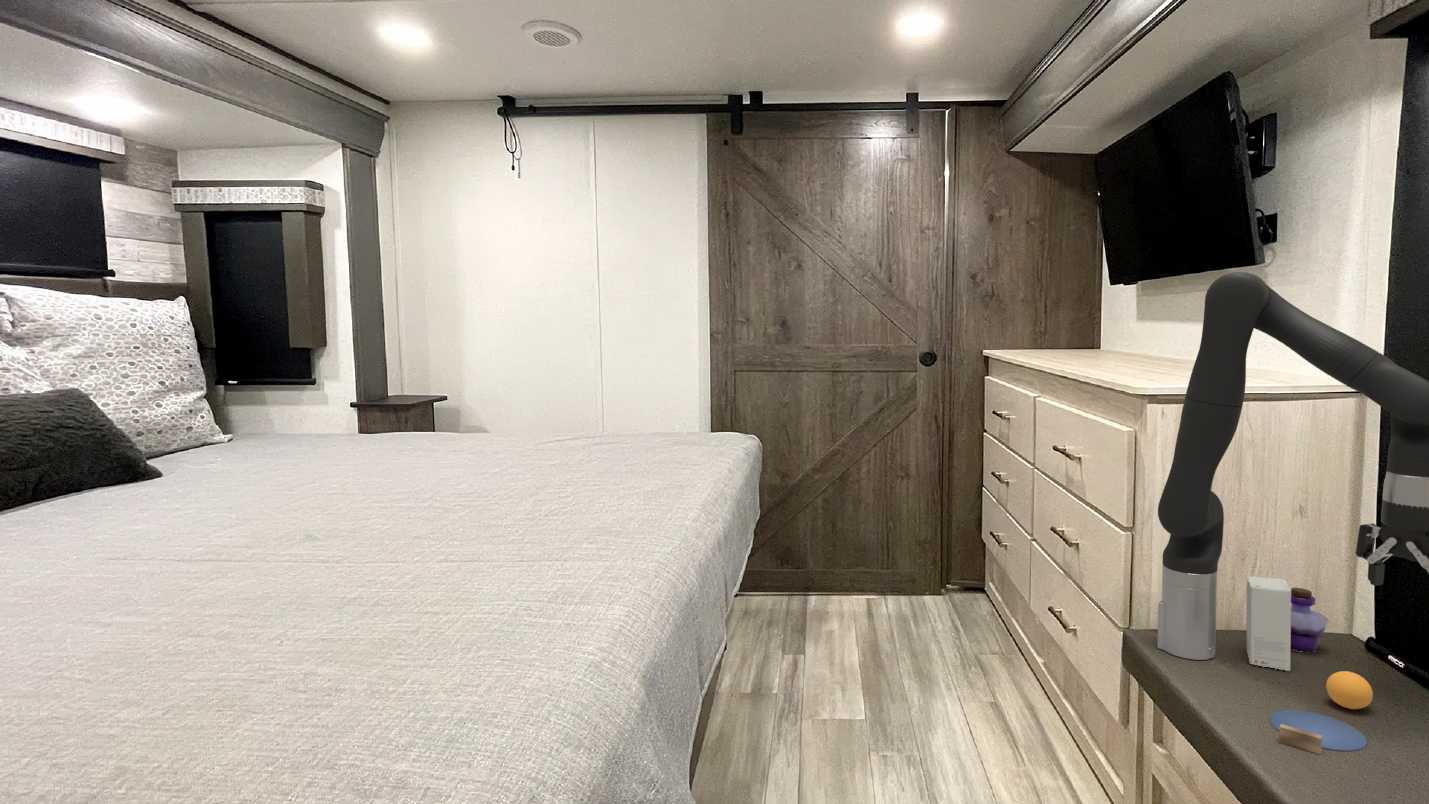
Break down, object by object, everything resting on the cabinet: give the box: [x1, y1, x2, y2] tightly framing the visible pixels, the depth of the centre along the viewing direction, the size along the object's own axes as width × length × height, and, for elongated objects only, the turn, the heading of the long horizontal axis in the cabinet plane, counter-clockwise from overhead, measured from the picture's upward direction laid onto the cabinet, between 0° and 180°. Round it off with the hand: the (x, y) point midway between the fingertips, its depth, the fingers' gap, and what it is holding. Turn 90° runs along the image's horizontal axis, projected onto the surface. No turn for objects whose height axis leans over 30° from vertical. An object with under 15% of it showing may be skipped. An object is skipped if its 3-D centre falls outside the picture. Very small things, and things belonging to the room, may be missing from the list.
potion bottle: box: [1290, 587, 1329, 652], centre depth 148 cm, size 9×9×12 cm
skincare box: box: [1246, 575, 1292, 672], centre depth 142 cm, size 8×7×16 cm
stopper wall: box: [1278, 724, 1323, 755], centre depth 114 cm, size 5×1×2 cm, turn 43°
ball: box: [1325, 670, 1374, 710], centre depth 125 cm, size 6×6×6 cm
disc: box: [1269, 709, 1367, 752], centre depth 118 cm, size 12×12×1 cm
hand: (1405, 593), depth 125 cm, fingers open, 8 cm apart
